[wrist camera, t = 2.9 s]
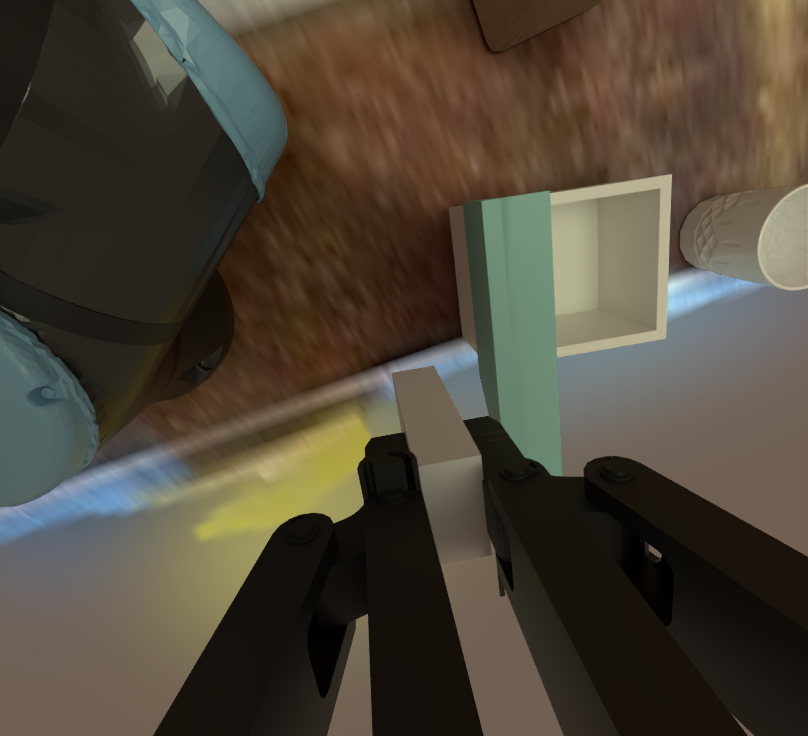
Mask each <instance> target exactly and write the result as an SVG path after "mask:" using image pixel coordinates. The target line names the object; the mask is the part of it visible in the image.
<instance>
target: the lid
mask: <svg viewBox="0 0 808 736" xmlns="http://www.w3.org/2000/svg"><path fill="white" fill-rule="evenodd" d="M462 203H463V213H464V223H465V233H466V243H467V253H468V263H469V273H470V283H471V293H472V303H473V313H474V323H475V333H476V343H477V353H478V363H479V373H480V379H481V383H482V388H483V392H484V396H485V400H486V404H487V408H488V413H489V417H491V418H493V419H495V420H497V421H499V422H500V423H501V425H502V426H503V427H504V429H505V430H506V432H507V433H508V434H509V436H510V438H511V439H512V440H513V442H514V443H515V444H516V446H517V447H518V449H519V450H520V451H521V453H522V454H523V456H524V457H525V458H529V459H532V460H535V461H537V462H539V463H540V464H542V465H543V466H544V467H545V468H546V469H547V471H548V472H549V473H550V475H553V476H562V460H561V439H560V438H561V437H560V415H559V393H558V392H559V390H558V367H557V343H556V319H555V296H554V273H553V249H552V226H551V202H550V191H543V192H536V193H530V194H523V195H517V196H510V197H503V198H492V199H482V200H474V201H467V202H462Z"/></svg>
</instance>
